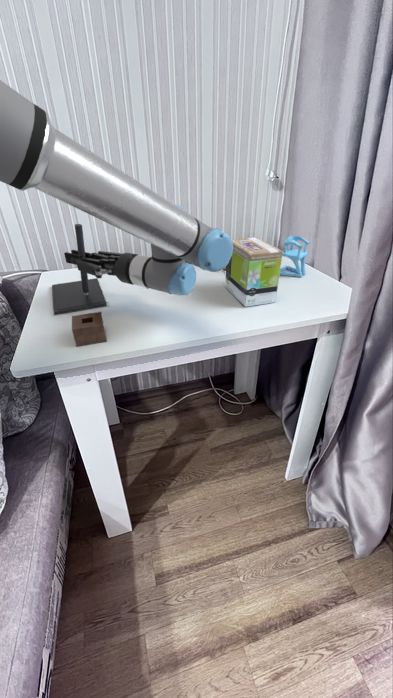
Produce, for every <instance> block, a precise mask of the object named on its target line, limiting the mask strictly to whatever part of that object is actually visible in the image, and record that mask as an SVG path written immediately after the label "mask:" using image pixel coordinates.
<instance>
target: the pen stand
mask: <svg viewBox="0 0 393 698" xmlns="http://www.w3.org/2000/svg"><path fill="white" fill-rule="evenodd" d="M71 332H72V335H73V339H74V344H75V346H76V347H82V346H87V345H92V344H93V345H95V344H100V343H106V342H107V341H108V340H107V334H106V328H105V322H104V318H103V314H102V311H97V312H89V313H82V314H75V315H71Z"/></svg>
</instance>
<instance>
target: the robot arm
mask: <svg viewBox="0 0 393 698" xmlns="http://www.w3.org/2000/svg"><path fill="white" fill-rule="evenodd" d="M0 182H1V183H3V184H6V185H8V186H9V187H12V188H15V189H16V190H18V191H22V192H23V191H26V190H29V189H36V190H37V191H40V192H42V193H44V194H46V195H48V196H50V197H52V198H54V199H57V200H58V201H60V202H62V203H64V204H67V205H69V206H71V207H73V208H75V209H78V210H79V211H81V212H84V213H85V214H88V215H90V216H92V217H94V218H96V219H98V220H100V221H103V222H104V223H107V224H108V225H111V226H112V227H114V228H117V229H119V230H121V231H123V232H125V233H127V234H129V235H131V236H134V237H136V238H137V239H139V240H141V241H144V242H146V243H148V244H150V250H151V256H150V255H144V254H138V253H132V252H124V253H120V252H113V251H112V252H111V251H104V250H98V251H97V252H91V253H90V252H88V251H87V252H86V251H85V256H86V258H84V256H83V255H78V249H77V250H76V249H71V250H70V252H69V251H66V252H63V255H64V258H65V263H67V264H70V265H74V266H75V265H76V267H77V270H78V271H79V272H80V271H82V272H85V273H87V275H88V274H89V275H91V276H94V277H95V278H97V279H102V278H103V276H104V275H108V276H113V277H116V278H117V279H118V280H119V281H120V282H121V283H123V284H128V285H133V286H137V287H141V288H142V287H143V288H145V289H147V290H149V289H151V290H155V291H158V292H163V293H167V294H169V295H175V296H187V295H189V294H190V293H192V291H193V290H194V289H195V286H196V282H197V270H196V268H199V269H201V270H204V271H207V272H210V273H217V272H220V271H222V270H224V269H223V268H225V267H226V265H227V264H228V263H229V260H230V258H231V256H232V253H233V243H232V240H233V239H232V238H231V236H230V235H229V234H228V233H226V232H225V231H222V230H221V229H219V228H218V227H217V228H216V227H215V228H213V227H211V226H209V225H207V224H206V223H204V222H203V221H202V220H199V219H198V218H195V217H194V216H193V215H191V213H188V212H187V211H185V210H184V208H183V207H182V205H180V204H177V203H173V202H171V201H170V200H169V199H166V198H165V197H164V196H161V194H159V193H157V192H156V191H154V190H152V189H151V188H149V187H147V186H146V185H144V184H143V183H141V182H140V181H138V180H137V179H135V178H134V177H132V176H131V175H129V174H128V173H126V172H124V171H123V170H121V169H119V168H118V167H117V166H115V165H113V164H111V163H110V162H109V161H107V160H105V159H104V158H102V157H101V156H99V155H98V154H96V153H94V152H93V151H92V150H90V149H88V148H87V147H85V146H84V145H82V144H80V143H79V142H77V141H76V140H74V139H72V138H71V137H70V136H68V135H66V134H65V133H63V132H62V131H60V130H59V129H57V128H55V127H54V125H53V123H52V121H51V118H50V115H49V113H48V111H46V110H44V109H43V108H41V107H40V106H39V105H37V104H35V103H34V102H32V101H31V100H29V99H28V98H26V97H25V96H24V95H22V94H21V93H19V92H18V91H17V90H15V89H14V88H12V87H11V86H10V85H8V84H7V83H5V82H4V81H3V80H1V79H0ZM185 261H187V262H189V263H191V264H189V263H187V262H185Z"/></svg>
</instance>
